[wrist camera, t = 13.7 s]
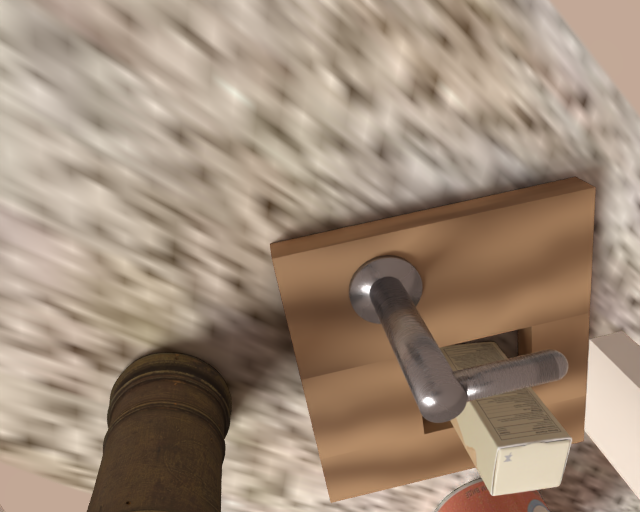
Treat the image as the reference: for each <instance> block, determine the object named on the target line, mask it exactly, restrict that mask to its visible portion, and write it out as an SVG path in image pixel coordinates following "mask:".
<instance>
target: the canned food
mask: <svg viewBox="0 0 640 512" xmlns="http://www.w3.org/2000/svg"><path fill="white" fill-rule="evenodd" d="M435 512H550V511H549V509H548V508H547V506H546V504H545V503H544V501H543V499H542V496H541V494H540V493H539V491H538V490H533V491H526V492H519V493H512V494H504V495H497V496H492V495H491V494H490V492H489V490H488V489H487V487H486V485H485V483H484V481H483V480H482V478H480V479H477V480H474V481H471V482H469V483H467V484H465V485H463V486H461V487H459V488H458V489H456V490H455V491H453V492H452V493H451V494H449V495H448V496H447V497H446V498H445V499H444V500H443V501H442V502H441V503H440V504H439V506H438V507H437V509H436V510H435Z"/></svg>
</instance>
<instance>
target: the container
mask: <svg viewBox="0 0 640 512" xmlns="http://www.w3.org/2000/svg"><path fill="white" fill-rule="evenodd" d="M231 408H232V402H231V396H230V392H229V389H228V387H227V385H226V383H225V381H224V379H223V378H222V376H221V375H220V374H219V373H218V372H217V371H216V370H215V369H214V368H213V367H212V366H210V365H209V364H207V363H205V362H204V361H202V360H200V359H198V358H195V357H192V356H188V355H184V354H178V353H157V354H152V355H149V356H146V357H143V358H141V359H139V360H137V361H135V362H134V363H132V364H131V365H130V366H129V367H128V368H126V369H125V370H124V372H123V373H122V374H121V375H120V376H119V378H118V379H117V381H116V382H115V384H114V386H113V389H112V391H111V395H110V404H109V409H108V414H107V424H108V431H107V433H106V435H105V438H104V443H103V457H102V461H101V465H100V468H99V472H98V475H97V479H96V483H95V487H94V490H93V494H92V497H91V501H90V503H89V506H88V510H87V512H221V478H222V464H223V461H224V457H225V440H224V439H225V437H226V435H227V433H228V430H229V426H230V415H231Z"/></svg>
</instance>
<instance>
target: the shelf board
mask: <svg viewBox="0 0 640 512" xmlns="http://www.w3.org/2000/svg"><path fill="white" fill-rule="evenodd" d="M595 189H596V187H594V186H592V185H590V184H588V183H587V182H585V181H583V180H581V179H579V178H577V177H572V178H568V179H563V180H559V181H554V182H550V183H545V184H541V185H536V186H532V187H527V188H522V189H518V190H513V191H509V192H504V193H500V194H495V195H491V196H486V197H481V198H477V199H472V200H468V201H463V202H459V203H454V204H450V205H445V206H441V207H436V208H431V209H427V210H422V211H418V212H413V213H409V214H404V215H400V216H395V217H391V218H386V219H381V220H377V221H372V222H368V223H363V224H359V225H354V226H350V227H345V228H341V229H336V230H331V231H327V232H322V233H318V234H313V235H309V236H304V237H300V238H295V239H290V240H286V241H281V242H277V243H272V244H270V249H271V256H272V261H273V266H274V270H275V274H276V278H277V282H278V286H279V290H280V295H281V299H282V303H283V307H284V311H285V315H286V319H287V323H288V328H289V332H290V336H291V340H292V344H293V348H294V352H295V357H296V361H297V365H298V369H299V373H300V377H301V381H302V386H303V390H304V394H305V398H306V402H307V406H308V410H309V414H310V419H311V423H312V427H313V431H314V435H315V439H316V443H317V448H318V452H319V456H320V460H321V464H322V468H323V472H324V477H325V481H326V485H327V489H328V493H329V497H330V501H331V503H332V502H336V501H340V500H344V499H348V498H352V497H356V496H361V495H365V494H369V493H373V492H377V491H381V490H385V489H389V488H393V487H397V486H402V485H406V484H410V483H414V482H418V481H422V480H426V479H430V478H434V477H439V476H443V475H447V474H451V473H455V472H459V471H463V470H467V469H471V468H475V465H474V463H473V461H472V460H471V458H470V456H469V454H468V452H467V450H466V449H465V447H464V445H463V443H462V441H461V439H460V438H459V436H458V434H457V432H456V430H455V428H454V427H453V425H452V423H451V421H447V422H443V423H434V422H430V421H428V420H426V419H425V418H424V417H423V416H422V414H421V412H420V410H419V408H418V406H417V403H416V401H415V399H414V397H413V394H412V392H411V390H410V388H409V385H408V383H407V381H406V379H405V376H404V374H403V372H402V370H401V367H400V365H399V363H398V361H397V358H396V356H395V354H394V352H393V349H392V347H391V345H390V343H389V340H388V338H387V336H386V334H385V331H384V329H383V327H382V325H381V324H376V323H371V322H368V321H366V320H364V319H363V318H361V317H360V316H359V315H358V314H357V313H356V312H355V310H354V309H353V307H352V304H351V302H350V298H349V284H350V281H351V278H352V276H353V274H354V273H355V271H356V270H357V269H358V268H359V267H360V266H361V265H362V264H364V263H365V262H366V261H368V260H370V259H372V258H375V257H378V256H382V255H395V256H399V257H402V258H404V259H406V260H408V261H409V262H410V263H411V264H412V265H413V266H414V267H415V268H416V270H417V271H418V273H419V275H420V277H421V280H422V287H423V289H422V295H421V298H420V301H419V303H418V304H417V306H416V308H417V310H418V312H419V313H420V315H421V317H422V319H423V320H424V322H425V324H426V325H427V327H428V329H429V331H430V332H431V334H432V336H433V338H434V339H435V341H436V343H437V344H438V346H439V348H441V347H445V346H450V345H454V344H458V343H462V342H467V341H471V340H475V339H480V338H484V337H488V336H493V335H497V334H501V333H505V332H510V331H514V330H518V356H521V355H525V354H530V353H534V352H538V351H542V350H547V349H553V350H557V351H559V352H561V353H562V354H563V355H564V356H565V358H566V359H567V361H568V371H567V373H566V375H565V376H564V377H563V378H562V379H560V380H557V381H553V382H549V383H545V384H541V385H537V386H532V387H531V388H532V389H533V391H534V392H535V393H536V394H537V396H538V397H539V398H540V399H541V401H542V402H543V403H544V404H545V406H546V407H547V408H548V409H549V411H550V412H551V413H552V414H553V416H554V417H555V418H556V419H557V421H558V422H559V423H560V424H561V426H562V427H563V428H564V429H565V430H566V432H567V433H568V434H569V435H570V436H571V438H572V443H571V444H574V443H578V442H582V441H584V422H585V401H586V380H587V359H588V338H589V316H590V295H591V274H592V253H593V232H594V211H595Z"/></svg>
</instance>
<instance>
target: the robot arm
mask: <svg viewBox="0 0 640 512" xmlns="http://www.w3.org/2000/svg"><path fill="white" fill-rule="evenodd" d="M584 430H585V432H586V433H587V434H588V435H589V437H590V438H591V439H592V440H593V442H594V443H595V444H596V445H597V447H598V448H599V449H600V450H601V452H602V453H603V454H604V455H605V457H606V458H607V459H608V461H609V462H610V463H611V464H612V466H613V467H614V468H615V469H616V471H617V472H618V473H619V474H620V476H621V477H622V478H623V479H624V481H625V482H626V483H627V484H628V486H629V487H630V488H631V489H632V491H633V492H634V493H635V495H636V496H637V497H638V498H639V500H640V346H639V345H638V344H637V343H636V342H635V341H633V340H632V339H631V338H630V337H629V336H628V335H627V334H626V333H624V332H623V331H620V332H616V333H612V334H608V335H604V336H600V337H596V338H592V339H589V356H588V375H587V393H586V411H585V429H584ZM0 512H5V511H4V509H3V508H2V507H1V505H0Z"/></svg>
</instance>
